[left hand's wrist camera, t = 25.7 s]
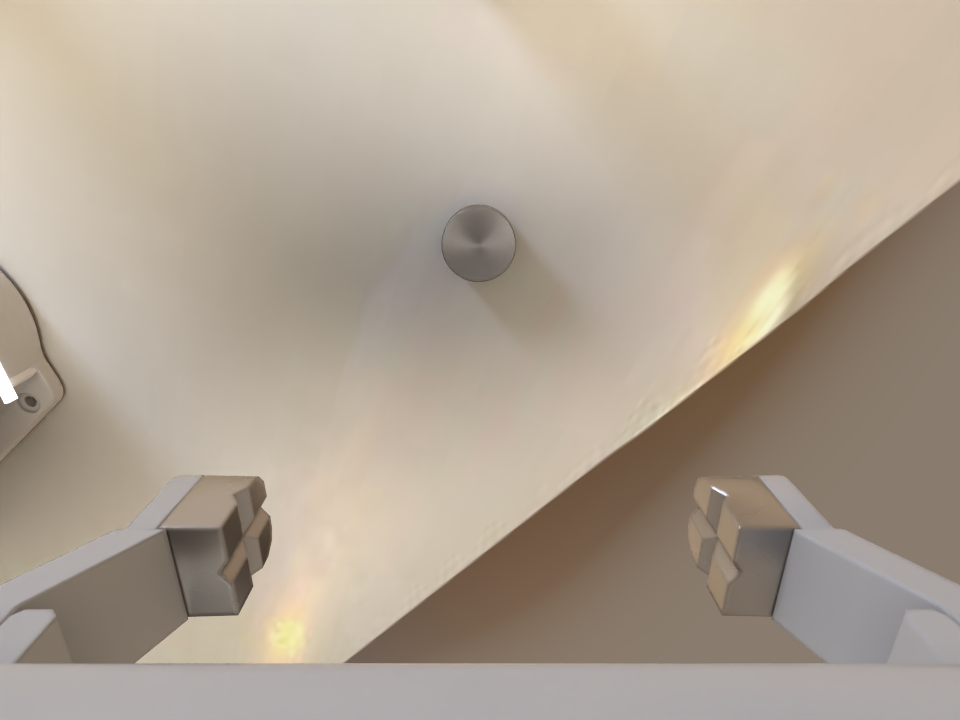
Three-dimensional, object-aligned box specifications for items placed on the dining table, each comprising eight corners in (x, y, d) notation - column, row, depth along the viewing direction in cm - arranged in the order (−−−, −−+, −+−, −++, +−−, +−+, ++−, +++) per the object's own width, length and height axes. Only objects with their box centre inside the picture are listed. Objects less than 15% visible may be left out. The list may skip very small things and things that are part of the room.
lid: (486, 189, 37) (486, 191, 35) (528, 248, 38) (530, 253, 37) (428, 234, 38) (426, 237, 36) (471, 289, 39) (471, 296, 38)
